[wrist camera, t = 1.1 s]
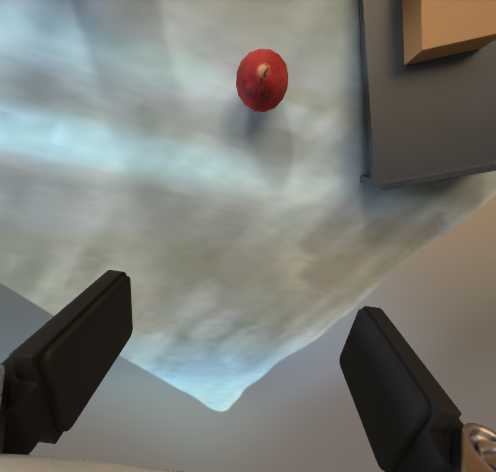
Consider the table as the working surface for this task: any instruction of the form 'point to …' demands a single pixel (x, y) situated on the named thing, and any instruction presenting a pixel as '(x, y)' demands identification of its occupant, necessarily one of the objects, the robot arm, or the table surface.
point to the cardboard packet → (446, 27)
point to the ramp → (424, 106)
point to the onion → (262, 80)
